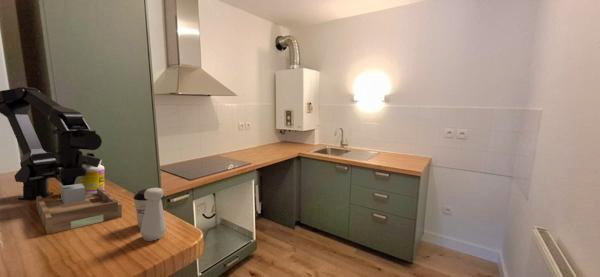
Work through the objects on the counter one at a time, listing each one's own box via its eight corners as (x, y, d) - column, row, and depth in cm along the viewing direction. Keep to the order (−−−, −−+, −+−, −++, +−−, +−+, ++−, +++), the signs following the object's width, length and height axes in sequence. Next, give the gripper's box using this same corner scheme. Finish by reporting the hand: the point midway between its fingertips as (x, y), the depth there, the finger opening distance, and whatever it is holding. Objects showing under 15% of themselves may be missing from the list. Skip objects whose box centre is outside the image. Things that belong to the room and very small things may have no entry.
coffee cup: (137, 221, 73) (137, 188, 72) (163, 219, 76) (163, 187, 75) (129, 231, 67) (130, 195, 66) (158, 229, 69) (159, 194, 68)
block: (61, 199, 81) (61, 186, 81) (81, 196, 85) (81, 183, 85) (64, 204, 77) (64, 190, 77) (85, 200, 81) (85, 187, 81)
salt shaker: (154, 244, 61) (154, 193, 60) (134, 241, 62) (134, 190, 61) (170, 234, 67) (171, 187, 66) (152, 231, 68) (153, 184, 67)
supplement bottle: (100, 194, 94) (100, 161, 93) (79, 195, 92) (78, 161, 91) (107, 189, 100) (107, 158, 99) (86, 189, 98) (86, 158, 97)
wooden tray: (36, 208, 78) (36, 193, 77) (100, 197, 90) (100, 184, 90) (47, 234, 63) (46, 215, 62) (121, 217, 75) (121, 201, 75)
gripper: (105, 149, 84) (105, 194, 86) (92, 143, 96) (92, 183, 97) (60, 152, 76) (61, 201, 77) (51, 145, 87) (52, 188, 88)
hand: (69, 192), depth 85 cm, fingers closed
